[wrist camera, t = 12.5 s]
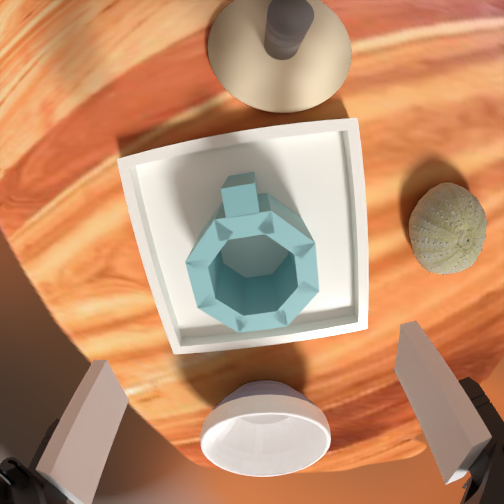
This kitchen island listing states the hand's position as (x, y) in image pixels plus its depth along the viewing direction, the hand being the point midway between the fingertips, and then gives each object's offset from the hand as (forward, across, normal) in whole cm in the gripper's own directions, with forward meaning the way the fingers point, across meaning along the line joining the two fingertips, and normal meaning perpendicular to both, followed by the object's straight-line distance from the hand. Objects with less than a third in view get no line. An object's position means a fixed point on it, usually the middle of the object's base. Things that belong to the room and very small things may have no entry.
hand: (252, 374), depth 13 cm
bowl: (+17, -2, -21) cm, 27 cm away
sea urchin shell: (+17, +19, -1) cm, 26 cm away
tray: (+17, 0, 0) cm, 17 cm away
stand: (+17, +5, +17) cm, 24 cm away
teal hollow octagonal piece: (+16, 0, 0) cm, 16 cm away
